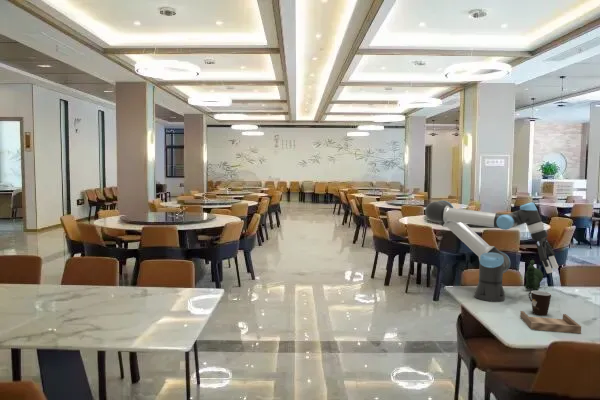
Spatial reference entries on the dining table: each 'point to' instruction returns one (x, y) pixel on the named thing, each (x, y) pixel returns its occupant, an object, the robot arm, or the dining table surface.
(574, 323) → the tray
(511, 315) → the dining table surface
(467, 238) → the robot arm
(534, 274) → the toy figurine
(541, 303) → the coffee mug
